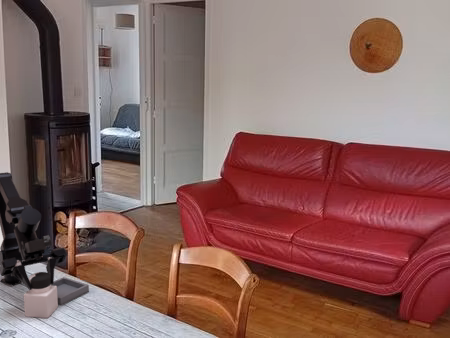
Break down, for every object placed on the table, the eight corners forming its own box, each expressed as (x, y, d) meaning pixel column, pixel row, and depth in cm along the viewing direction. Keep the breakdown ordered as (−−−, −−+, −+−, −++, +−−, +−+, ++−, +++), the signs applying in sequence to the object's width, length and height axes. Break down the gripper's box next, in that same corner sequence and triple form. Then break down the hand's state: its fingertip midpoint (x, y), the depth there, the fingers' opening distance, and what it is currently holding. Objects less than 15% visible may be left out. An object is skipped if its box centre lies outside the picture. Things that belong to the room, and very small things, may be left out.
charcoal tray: (35, 296, 159) (35, 289, 159) (64, 283, 169) (63, 276, 169) (60, 305, 154) (60, 298, 153) (88, 292, 163) (88, 284, 163)
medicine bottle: (58, 307, 153) (56, 270, 150) (47, 318, 146) (45, 280, 144) (36, 305, 154) (33, 269, 151) (24, 317, 147) (22, 278, 144)
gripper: (-1, 233, 142) (13, 283, 136) (63, 222, 153) (79, 267, 147) (-7, 251, 150) (6, 299, 143) (55, 239, 161) (70, 283, 155)
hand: (41, 286), depth 147 cm, fingers closed on medicine bottle, 6 cm apart
